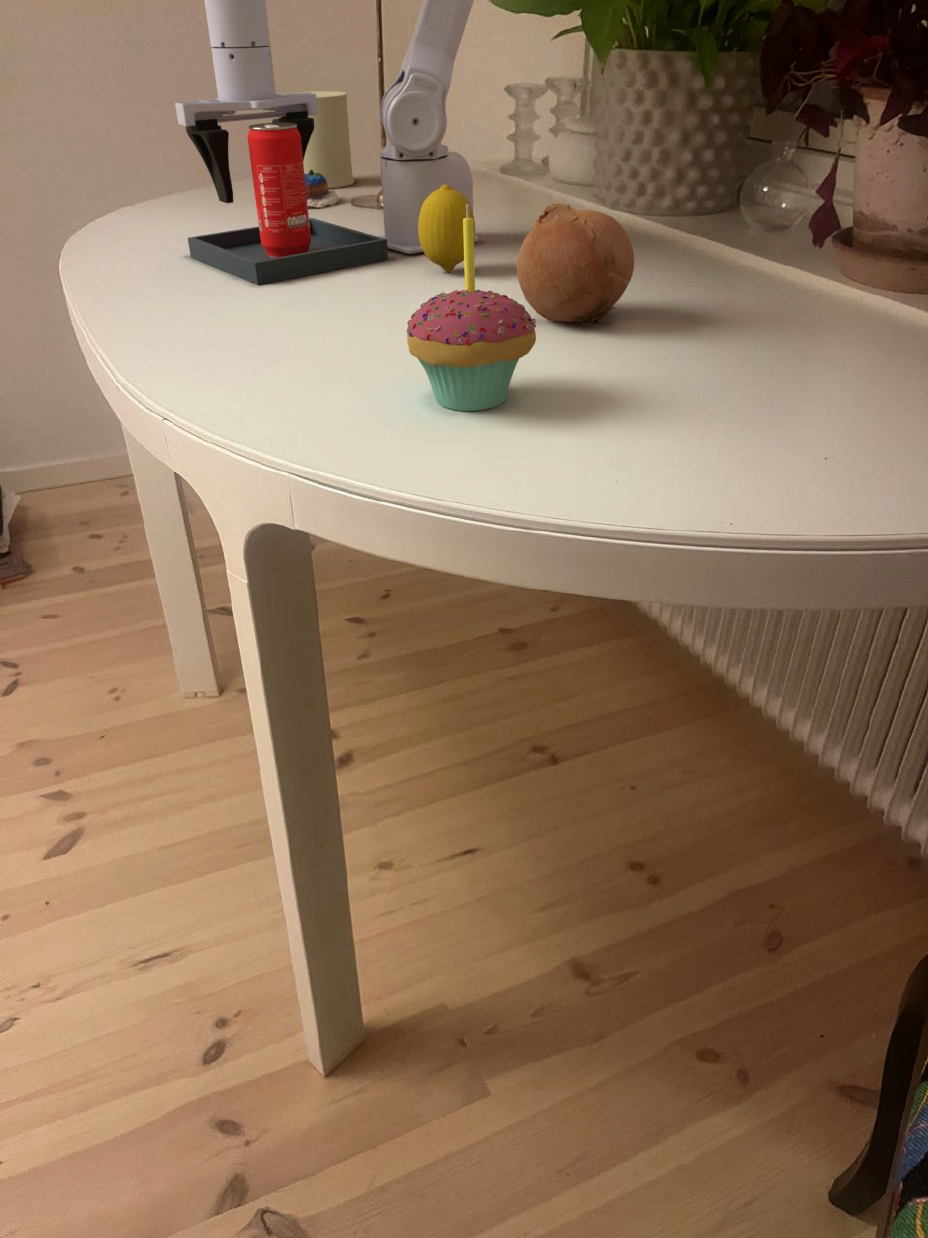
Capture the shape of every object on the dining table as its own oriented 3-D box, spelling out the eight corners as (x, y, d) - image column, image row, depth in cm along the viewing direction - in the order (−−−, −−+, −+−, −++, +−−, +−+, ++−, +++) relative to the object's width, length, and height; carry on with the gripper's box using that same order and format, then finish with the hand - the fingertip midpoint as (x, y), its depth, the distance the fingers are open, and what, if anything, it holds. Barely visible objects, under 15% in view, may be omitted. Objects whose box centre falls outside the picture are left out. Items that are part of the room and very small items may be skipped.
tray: (313, 236, 108) (312, 217, 107) (388, 259, 98) (387, 239, 97) (190, 257, 101) (187, 237, 100) (257, 284, 91) (254, 263, 90)
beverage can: (271, 261, 96) (254, 129, 90) (256, 251, 100) (239, 124, 94) (319, 254, 98) (306, 125, 92) (302, 245, 102) (289, 120, 96)
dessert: (290, 190, 129) (309, 152, 126) (331, 220, 131) (351, 183, 127) (270, 206, 123) (289, 166, 120) (312, 237, 125) (333, 199, 121)
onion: (528, 351, 82) (483, 237, 79) (620, 307, 84) (580, 194, 81) (569, 341, 73) (520, 212, 70) (671, 293, 75) (627, 165, 72)
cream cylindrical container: (282, 188, 135) (271, 93, 129) (301, 178, 143) (292, 87, 136) (344, 189, 134) (336, 92, 127) (360, 178, 141) (354, 87, 135)
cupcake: (408, 380, 68) (398, 199, 61) (525, 374, 68) (529, 195, 61) (412, 426, 60) (402, 226, 54) (544, 419, 61) (550, 221, 54)
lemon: (469, 279, 91) (468, 189, 86) (414, 278, 92) (410, 188, 87) (480, 265, 95) (479, 179, 91) (427, 264, 96) (424, 178, 92)
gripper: (186, 51, 86) (211, 211, 93) (326, 44, 93) (338, 193, 100) (157, 49, 91) (183, 201, 98) (292, 42, 98) (307, 185, 105)
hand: (260, 197), depth 100 cm, fingers open, 7 cm apart
